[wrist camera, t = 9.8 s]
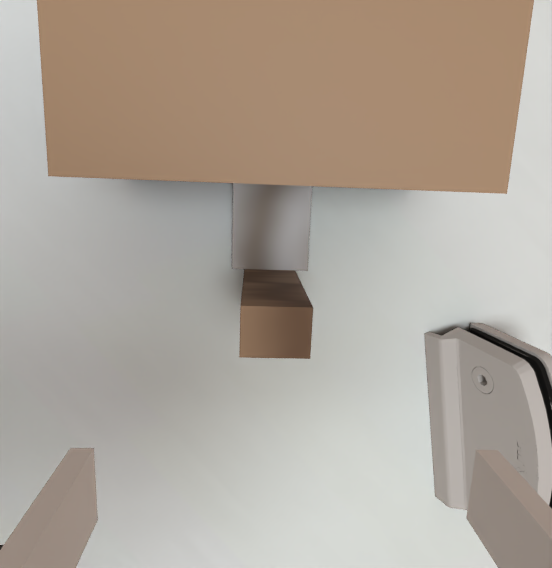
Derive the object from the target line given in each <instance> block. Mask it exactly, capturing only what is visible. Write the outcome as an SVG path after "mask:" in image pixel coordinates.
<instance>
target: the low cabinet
mask: <svg viewBox="0 0 552 568" xmlns="http://www.w3.org/2000/svg"><path fill="white" fill-rule="evenodd" d="M533 3H534V0H37V8H38V23H39V39H40V54H41V69H42V84H43V100H44V115H45V130H46V146H47V161H48V176H59V177H85V178H112V179H138V180H164V181H190V182H217V183H243V184H269V185H295V186H322V187H348V188H374V189H401V190H427V191H453V192H479V193H506V194H507V189H508V181H509V174H510V167H511V160H512V153H513V146H514V139H515V132H516V124H517V117H518V110H519V103H520V96H521V89H522V82H523V75H524V67H525V60H526V53H527V46H528V39H529V32H530V25H531V18H532V10H533Z"/></svg>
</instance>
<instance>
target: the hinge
mask: <svg viewBox="0 0 552 568" xmlns="http://www.w3.org/2000/svg"><path fill="white" fill-rule="evenodd" d="M424 335H425V350H426V365H427V380H428V395H429V410H430V425H431V440H432V455H433V470H434V485H435V497H437V498H438V499H439V500H440V501H441V502H443V503H444V504H445V505H446V506H448V507H450V508H456V509H464V510H468V503H469V496H470V489H471V482H472V475H473V468H474V461H475V454H476V450H498V451H499V452H500V453H501V454H502V455H503V456H504V458H505V459H506V460H507V461H508V462H509V463H510V464H511V465H512V466H513V467H514V468H515V469H516V471H517V472H518V473H519V474H520V475H521V476H522V477H523V478H524V479H525V480H526V481H527V482H528V484H529V485H530V486H531V487H532V488H533V489H534V490H535V491H536V492H537V493H538V494H539V495H540V497H541V498H542V499H543V500H544V501H545V502H546V503H547V504H548V505H549V506H550V507H551V509H552V356H551V355H550V354H548V353H547V352H545V351H542V350H540V349H538V348H536V347H534V346H531V345H529V344H527V343H525V342H522V341H520V340H518V339H516V338H514V337H511V336H509V335H507V334H505V333H502V332H500V331H498V330H496V329H494V328H491V327H489V326H487V325H485V324H482V323H470V329H469V332H468V331H466V330H463V329H461V328H459V327H457V328H455V329H453V330H452V331H450V332H448V333H446V334H444V335H442V336H440V335H438V334H435V333H432V332H427V333H425V334H424Z"/></svg>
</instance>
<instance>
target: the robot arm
mask: <svg viewBox="0 0 552 568" xmlns="http://www.w3.org/2000/svg"><path fill="white" fill-rule="evenodd" d="M97 520H98V517H97V498H96V480H95V461H94V448H70V449H69V451H68V452H67V454H66V455H65V457H64V458H63V460H62V461H61V463H60V464H59V465H58V467H57V468H56V470H55V471H54V473H53V474H52V476H51V477H50V479H49V480H48V481H47V483H46V484H45V486H44V487H43V489H42V490H41V492H40V493H39V495H38V496H37V497H36V499H35V500H34V502H33V503H32V505H31V506H30V508H29V509H28V511H27V512H26V513H25V515H24V516H23V518H22V519H21V521H20V522H19V524H18V525H17V527H16V528H15V529H14V531H13V532H12V534H11V535H10V537H9V538H8V540H7V541H6V542H5V544H4V545H0V568H76V566H77V564H78V562H79V559H80V557H81V555H82V553H83V551H84V549H85V546H86V544H87V542H88V540H89V538H90V535H91V533H92V531H93V529H94V527H95V525H96V522H97ZM467 520H468V521H469V523H470V524H471V526H472V528H473V529H474V531H475V532H476V534H477V535H478V537H479V538H480V540H481V542H482V543H483V545H484V546H485V548H486V549H487V551H488V552H489V554H490V556H491V557H492V559H493V560H494V562H495V563H496V565H497V567H498V568H552V509H551V507H550V506H549V505H548V504H547V503H546V502H545V501H544V500H543V499H542V498H541V497H540V495H539V494H538V493H537V492H536V491H535V490H534V489H533V488H532V487H531V486H530V485H529V484H528V482H527V481H526V480H525V479H524V478H523V477H522V476H521V475H520V474H519V473H518V472H517V471H516V469H515V468H514V467H513V466H512V465H511V464H510V463H509V462H508V461H507V460H506V459H505V458H504V456H503V455H502V454H501V453H500V452H499V451H498V450H476V454H475V461H474V468H473V475H472V482H471V489H470V496H469V503H468V510H467Z"/></svg>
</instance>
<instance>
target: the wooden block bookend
mask: <svg viewBox="0 0 552 568" xmlns="http://www.w3.org/2000/svg"><path fill="white" fill-rule="evenodd" d="M311 198H312V186H295V185H269V184H243V183H233V226H232V269H244V278H243V288H242V298H241V313H240V357H250V358H305V359H310V351H311V334H312V316H313V307H312V305H311V302H310V300H309V298H308V296H307V294H306V292H305V290H304V288H303V286H302V284H301V282H300V280H299V278H298V276H297V273H296V271H308V254H309V236H310V217H311ZM295 270H296V271H295Z"/></svg>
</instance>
